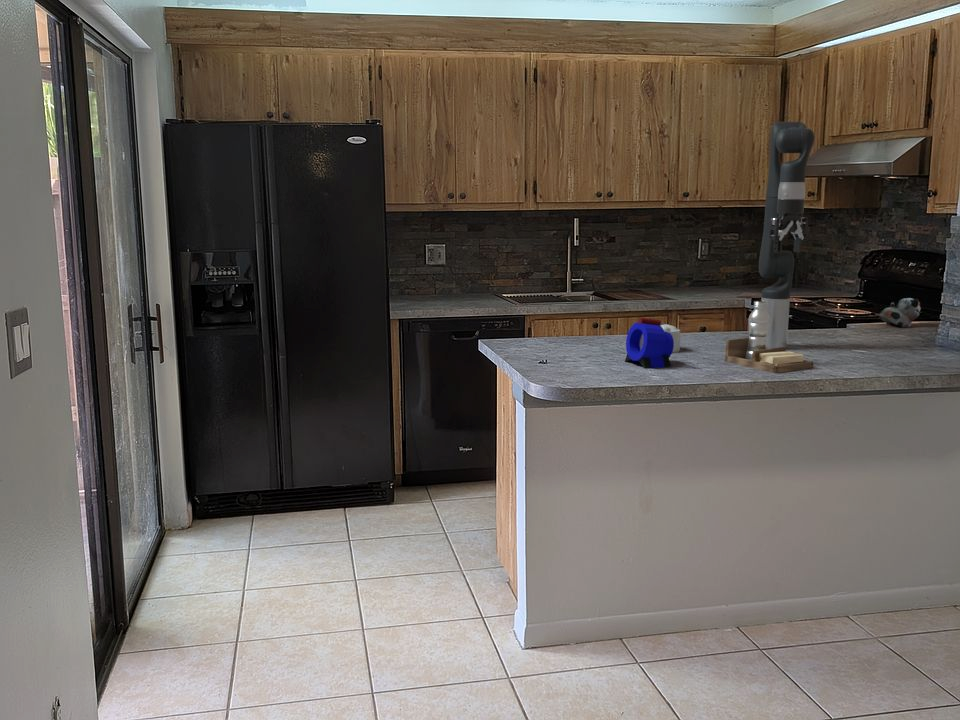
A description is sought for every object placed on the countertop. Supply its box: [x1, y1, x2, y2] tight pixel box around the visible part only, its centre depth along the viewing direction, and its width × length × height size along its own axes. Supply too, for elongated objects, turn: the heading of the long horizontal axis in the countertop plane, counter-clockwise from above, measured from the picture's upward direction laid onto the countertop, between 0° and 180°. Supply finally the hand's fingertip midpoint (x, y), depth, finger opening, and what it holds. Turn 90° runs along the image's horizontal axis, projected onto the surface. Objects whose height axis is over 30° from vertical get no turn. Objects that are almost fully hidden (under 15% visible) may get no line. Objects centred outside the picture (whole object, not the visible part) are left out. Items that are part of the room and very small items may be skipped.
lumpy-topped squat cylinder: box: [660, 323, 681, 353], centre depth 298 cm, size 10×13×9 cm
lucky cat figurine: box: [877, 297, 922, 329], centre depth 351 cm, size 15×12×14 cm
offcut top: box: [759, 350, 805, 364], centre depth 264 cm, size 6×11×2 cm, turn 110°
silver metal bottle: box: [746, 300, 770, 360], centre depth 271 cm, size 6×7×20 cm
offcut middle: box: [760, 361, 802, 366], centre depth 264 cm, size 6×11×2 cm, turn 122°
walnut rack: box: [724, 336, 814, 374], centre depth 268 cm, size 20×16×8 cm
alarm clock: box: [624, 316, 674, 370], centre depth 274 cm, size 12×12×15 cm
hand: (787, 252), depth 265 cm, fingers open, 8 cm apart
